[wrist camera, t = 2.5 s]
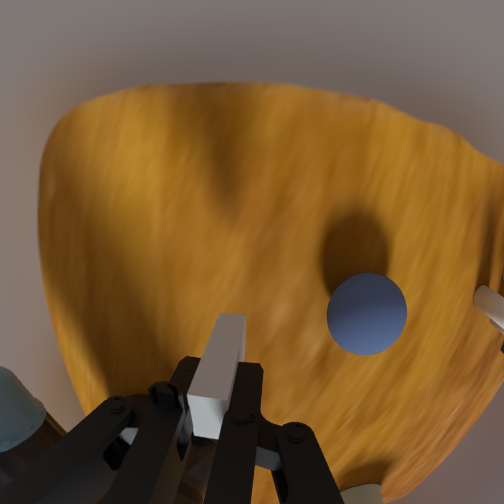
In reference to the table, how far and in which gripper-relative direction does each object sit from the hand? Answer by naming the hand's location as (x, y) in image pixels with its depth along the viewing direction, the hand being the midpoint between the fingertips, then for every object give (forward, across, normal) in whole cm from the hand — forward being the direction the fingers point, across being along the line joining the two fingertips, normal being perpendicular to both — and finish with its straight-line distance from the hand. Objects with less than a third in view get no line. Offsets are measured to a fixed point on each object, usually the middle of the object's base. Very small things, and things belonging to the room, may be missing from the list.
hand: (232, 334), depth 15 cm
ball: (+4, -9, 0) cm, 10 cm away
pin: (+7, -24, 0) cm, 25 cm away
